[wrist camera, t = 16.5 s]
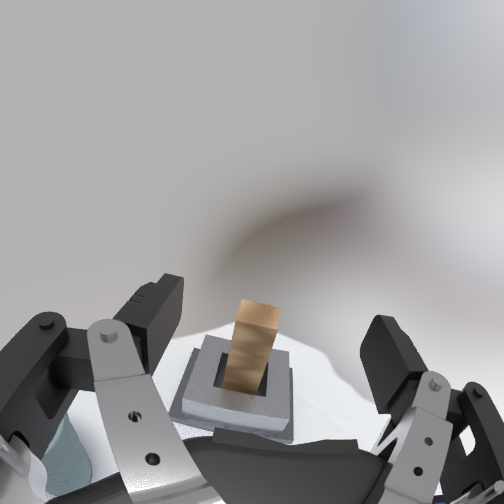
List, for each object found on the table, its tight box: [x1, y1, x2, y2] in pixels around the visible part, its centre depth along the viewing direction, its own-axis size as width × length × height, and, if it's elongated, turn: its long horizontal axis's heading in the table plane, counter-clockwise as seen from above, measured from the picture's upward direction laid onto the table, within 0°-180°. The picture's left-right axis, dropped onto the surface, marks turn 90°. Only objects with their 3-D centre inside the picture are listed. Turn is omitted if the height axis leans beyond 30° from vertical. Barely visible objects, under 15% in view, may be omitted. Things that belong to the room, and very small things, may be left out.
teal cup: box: [41, 412, 92, 496], centre depth 15 cm, size 10×10×12 cm
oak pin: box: [222, 299, 279, 395], centre depth 32 cm, size 4×4×14 cm
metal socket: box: [168, 335, 293, 444], centre depth 34 cm, size 16×14×5 cm
